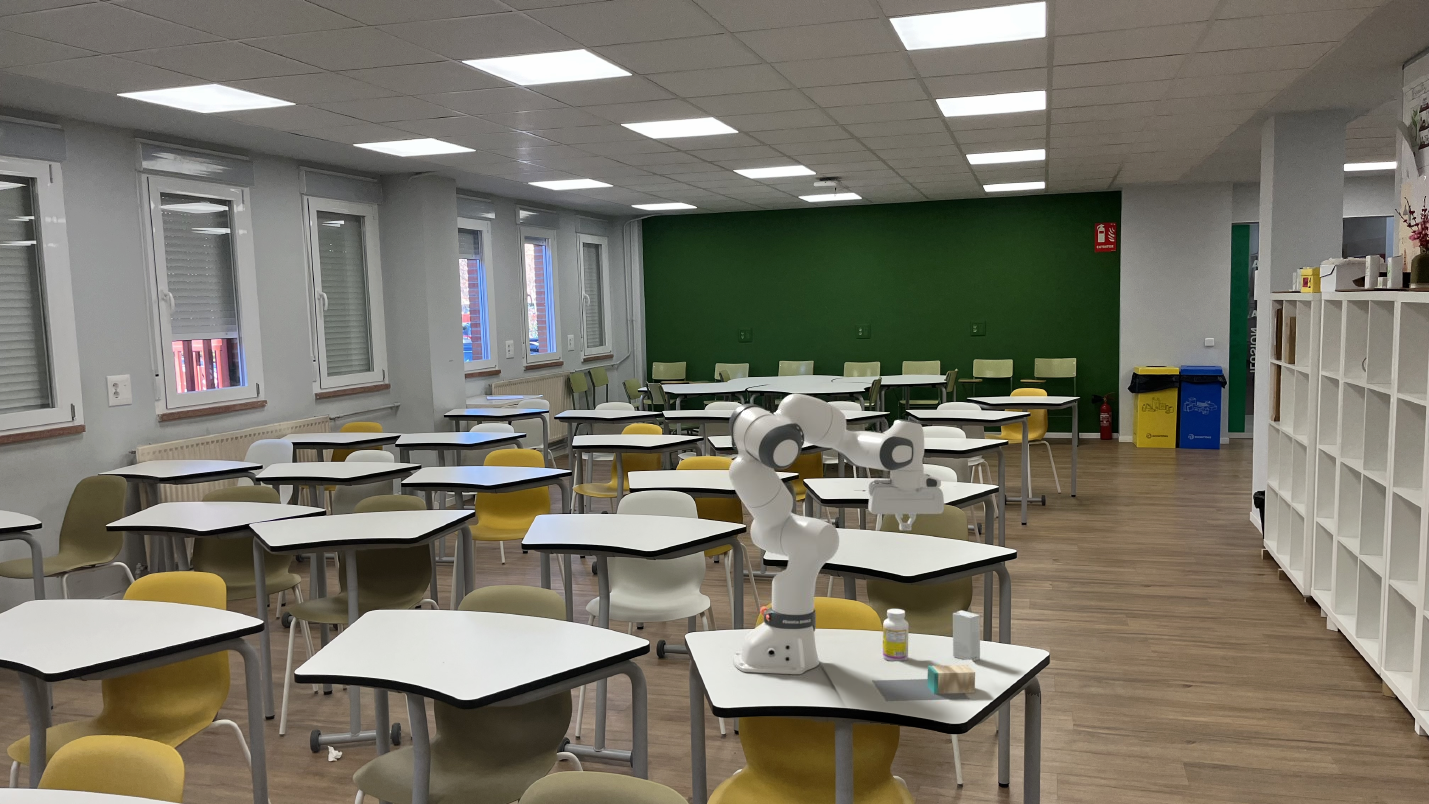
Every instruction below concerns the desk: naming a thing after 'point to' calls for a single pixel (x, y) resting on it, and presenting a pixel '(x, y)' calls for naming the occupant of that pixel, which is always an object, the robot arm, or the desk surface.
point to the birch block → (951, 679)
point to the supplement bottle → (895, 636)
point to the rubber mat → (911, 690)
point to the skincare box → (966, 635)
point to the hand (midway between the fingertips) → (905, 529)
